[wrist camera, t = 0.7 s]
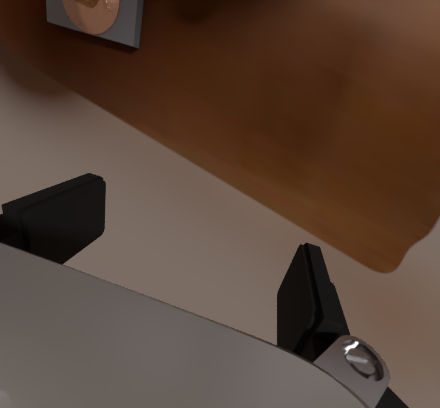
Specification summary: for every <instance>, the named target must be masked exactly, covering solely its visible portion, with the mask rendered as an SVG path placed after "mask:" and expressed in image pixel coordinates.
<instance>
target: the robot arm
mask: <svg viewBox="0 0 440 408" xmlns="http://www.w3.org/2000/svg"><path fill="white" fill-rule="evenodd" d="M105 191H106V183H105V181H103V178H102V177H100V176H97V175H94V174H91V173H87V174H85V175H82V176H79V177H77V178H74V179H71V180H68V181H65V182H63V183H60V184H57V185H54V186H52V187H49V188H46V189H43V190H41V191H38V192H35V193H32V194H30V195H27V196H24V197H22V198H19V199H16V200H13V201H10V202H8V203H5V204H2V210H3V214H1V215H0V408H409V407H408V406H407V405H406V404H405V403H403V402H402V400H401V399H399V398H398V397H397V395H396V394H395V393H394V392H393V391H392V390H391V389H390V388H389V387H388V385H389V381H390V373H389V370H388V368H387V365H386V363H385V362H384V361H383V359H382V358H381V356H380V355H379V354H378V353H377V352H376V351H375V350H374V349H373V348H372V347H371V346H370V345H368V344H367V343H366V342H364V341H363V340H361V339H358V338H357V337H354V336H350V332H349V329H348V326H347V323H346V320H345V317H344V314H343V311H342V307H341V305H340V301H339V298H338V295H337V292H336V289H335V286H334V285H333V283H332V282H330V278H329V275H328V272H327V268H326V265H325V262H324V259H323V255H322V252H321V249H320V247H318V246H315V245H312V244H309V243H305V244H304V245H301V244H300V246H299V247H298V249H297V252H296V254H295V256H294V258H293V260H292V262H291V264H290V267H289V269H288V271H287V273H286V275H285V277H284V279H283V281H282V284H281V286H280V288H279V290H278V294H277V345H274V344H272V343H269V342H267V341H264V340H262V339H260V338H257V337H255V336H253V335H250V334H247V333H245V332H242V331H239V330H237V329H234V328H232V327H229V326H226V325H224V324H221V323H218V322H215V321H213V320H210V319H208V318H205V317H202V316H200V315H197V314H194V313H191V312H189V311H186V310H184V309H181V308H178V307H176V306H173V305H170V304H168V303H165V302H163V301H160V300H157V299H155V298H152V297H149V296H146V295H144V294H141V293H138V292H135V291H133V290H130V289H128V288H125V287H122V286H119V285H117V284H114V283H111V282H109V281H106V280H103V279H100V278H98V277H95V276H92V275H90V274H87V273H84V272H81V271H78V270H76V269H73V268H70V267H68V266H65V265H62V264H64V263H65V262H66V261H68V260H69V259H70V258H72V257H73V256H74V255H76V254H77V253H78V252H80V251H81V250H82V249H83V248H85V247H86V246H88V245H89V244H90V243H92V242H93V241H94V240H96V239H97V238H98V237H100V236H101V235H102V234H103V232H104V228H105V194H106V192H105Z"/></svg>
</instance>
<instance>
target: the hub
mask: <svg viewBox="0 0 440 408" xmlns="http://www.w3.org/2000/svg"><path fill="white" fill-rule="evenodd" d="M62 3H63V6H64V8H65V11H66V13H67V15H68V16H69V18H70V19H71V21H72V22H73V23H74V24H75V25H76V26H77V27H78V28H79V29H81V30H82V31H84V32H86V33H89V34H95V35H97V34H102V33H104V32H106V31H107V30H109V29H110V28H111V27H112V25H113V24H114V22H115V20H116V18H117V16H118V12H119V7H120V0H62Z"/></svg>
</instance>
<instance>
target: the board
mask: <svg viewBox="0 0 440 408" xmlns="http://www.w3.org/2000/svg"><path fill="white" fill-rule="evenodd" d="M143 2H144V0H120V7H119V12H118V16H117V18H116V20H115V22H114V24H113V25H112V27H111V28H110V29H109V30H107V31H106V32H104V33H102V34H97V35H95V34H90V35H93V36H97V37H100V38H104V39H107V40H111V41H114V42H118V43H121V44H125V45H128V46H131V47H135V48H138V49H139V43H140V33H141V22H142V12H143ZM46 10H47V22H50V23H52V24H55V25H58V26H62V27H65V28H69V29H72V30H76V31H79V32H83V33H86V32H84V31H82V30H81V29H79V28H78V27H77V26H76V25H75V24H74V23H73V22H72V21H71V19H70V18H69V16H68V15H67V13H66V11H65V8H64V6H63V3H62V0H46ZM86 34H89V33H86Z"/></svg>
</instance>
